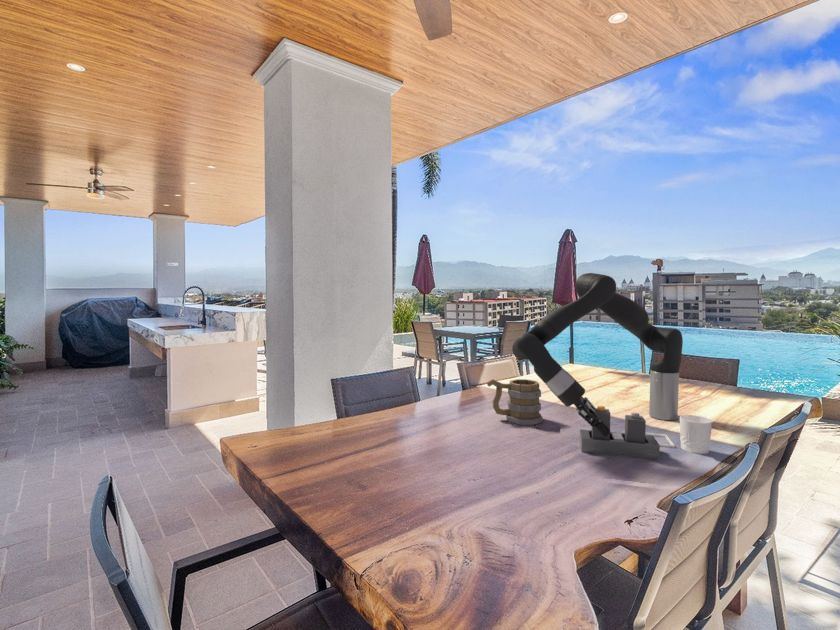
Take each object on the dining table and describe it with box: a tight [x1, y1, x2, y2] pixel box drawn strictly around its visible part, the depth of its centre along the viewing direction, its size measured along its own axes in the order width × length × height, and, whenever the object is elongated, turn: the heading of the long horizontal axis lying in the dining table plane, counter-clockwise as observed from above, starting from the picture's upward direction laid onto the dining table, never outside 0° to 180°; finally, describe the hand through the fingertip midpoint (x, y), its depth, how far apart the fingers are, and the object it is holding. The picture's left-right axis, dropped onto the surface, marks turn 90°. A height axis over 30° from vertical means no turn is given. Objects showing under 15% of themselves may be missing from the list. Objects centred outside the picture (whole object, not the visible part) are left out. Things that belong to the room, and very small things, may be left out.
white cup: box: [679, 414, 713, 455], centre depth 123 cm, size 8×8×10 cm
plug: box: [591, 405, 611, 440], centre depth 124 cm, size 4×4×11 cm
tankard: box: [486, 378, 544, 426], centre depth 155 cm, size 20×13×15 cm, turn 84°
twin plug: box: [624, 412, 647, 443], centre depth 121 cm, size 4×4×11 cm
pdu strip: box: [579, 429, 661, 461], centre depth 123 cm, size 8×20×5 cm, turn 73°
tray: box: [645, 432, 676, 449], centre depth 131 cm, size 10×10×2 cm
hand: (607, 431), depth 123 cm, fingers closed on plug, 4 cm apart
